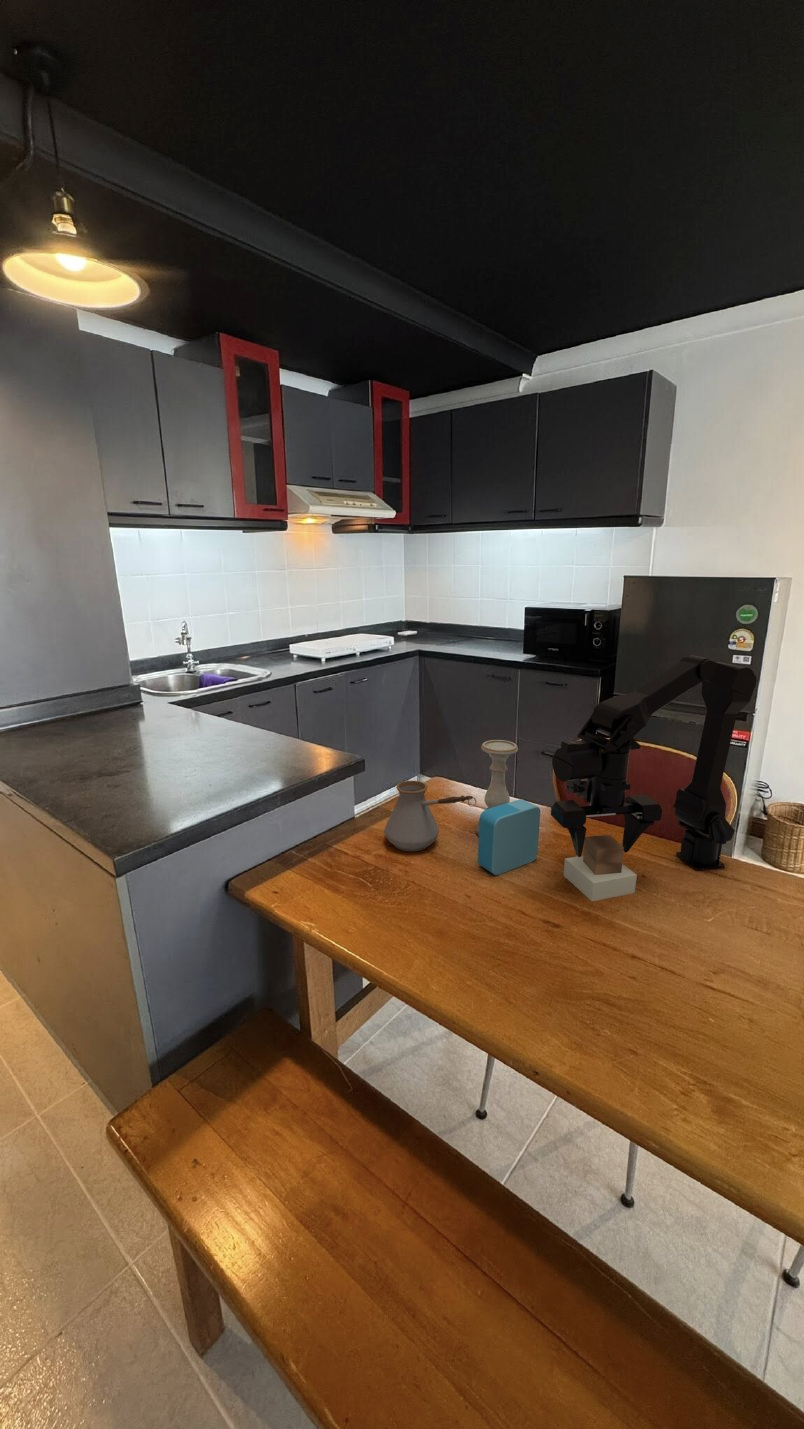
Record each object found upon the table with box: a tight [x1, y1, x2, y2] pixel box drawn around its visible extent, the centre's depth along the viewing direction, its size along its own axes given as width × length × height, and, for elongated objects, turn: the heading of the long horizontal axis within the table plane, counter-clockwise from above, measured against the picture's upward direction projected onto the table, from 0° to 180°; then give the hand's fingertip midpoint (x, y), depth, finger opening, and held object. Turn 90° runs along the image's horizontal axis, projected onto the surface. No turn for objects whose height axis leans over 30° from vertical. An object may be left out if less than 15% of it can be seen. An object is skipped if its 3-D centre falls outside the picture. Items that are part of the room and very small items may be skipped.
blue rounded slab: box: [477, 798, 541, 876], centre depth 114 cm, size 12×4×12 cm, turn 123°
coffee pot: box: [383, 780, 477, 852], centre depth 119 cm, size 21×12×15 cm, turn 47°
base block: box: [563, 855, 638, 902], centre depth 108 cm, size 9×9×4 cm
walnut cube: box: [582, 834, 624, 875], centre depth 107 cm, size 5×5×5 cm
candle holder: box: [474, 739, 519, 837], centre depth 125 cm, size 9×9×20 cm
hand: (601, 853), depth 107 cm, fingers open, 9 cm apart
